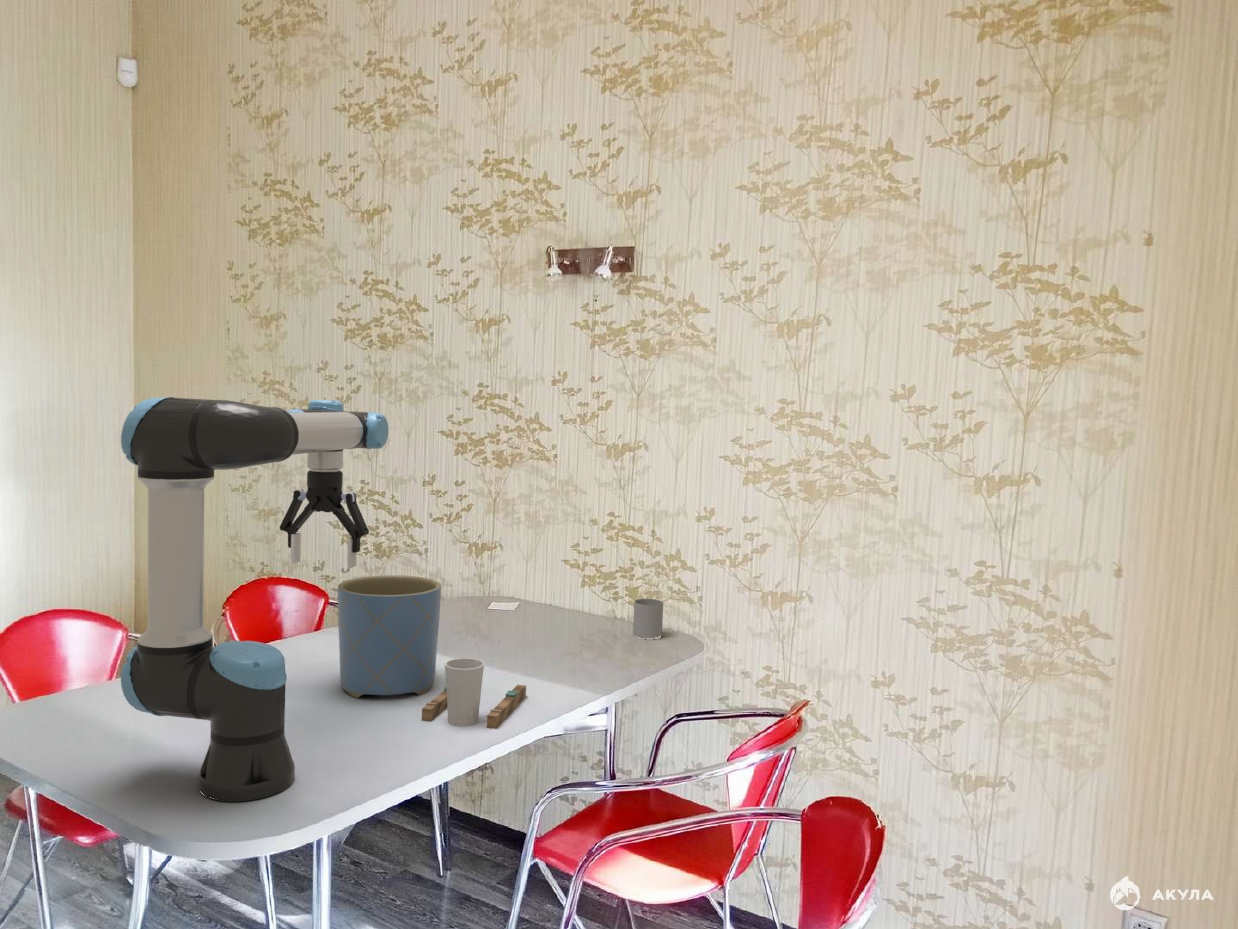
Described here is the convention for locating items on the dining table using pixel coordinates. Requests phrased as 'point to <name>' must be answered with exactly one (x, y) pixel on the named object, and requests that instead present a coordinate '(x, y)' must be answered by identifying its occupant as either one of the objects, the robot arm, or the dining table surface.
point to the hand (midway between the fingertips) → (323, 565)
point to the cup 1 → (463, 690)
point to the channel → (495, 714)
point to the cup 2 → (648, 618)
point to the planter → (388, 634)
